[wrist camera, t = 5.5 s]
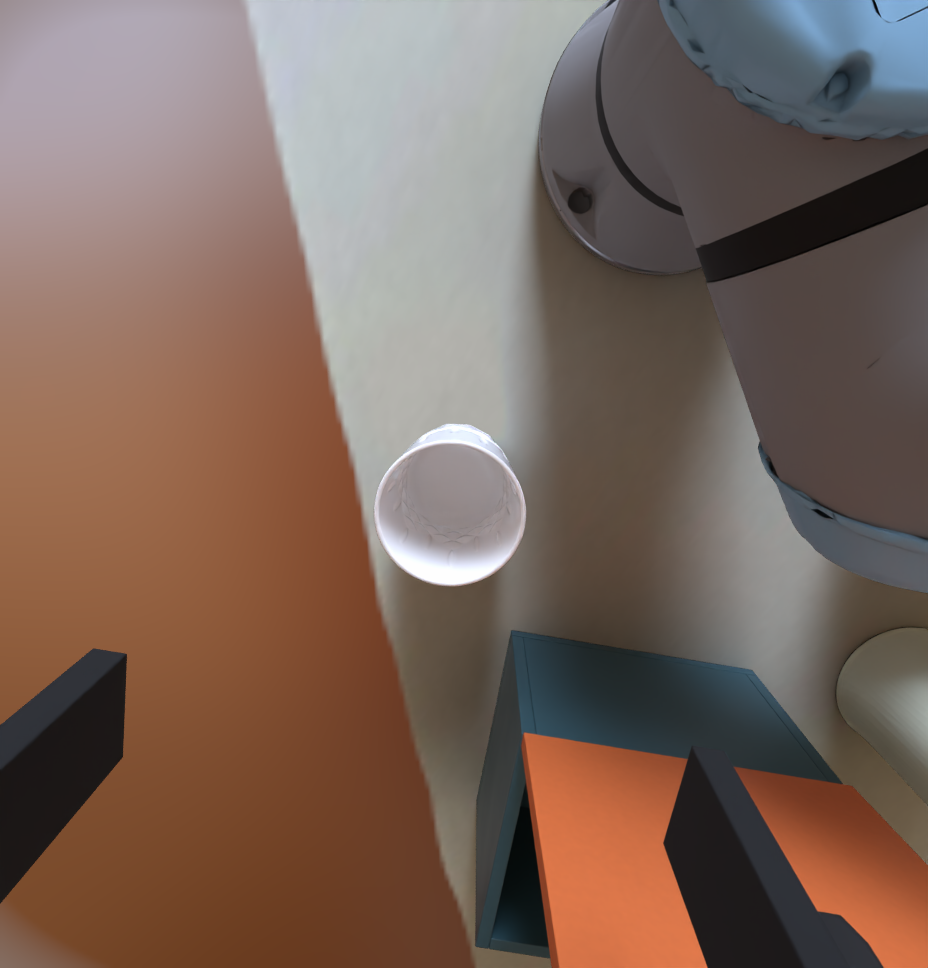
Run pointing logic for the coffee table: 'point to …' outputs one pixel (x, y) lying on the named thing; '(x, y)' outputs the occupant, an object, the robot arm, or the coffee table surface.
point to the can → (891, 701)
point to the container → (610, 722)
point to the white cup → (450, 507)
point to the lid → (648, 873)
